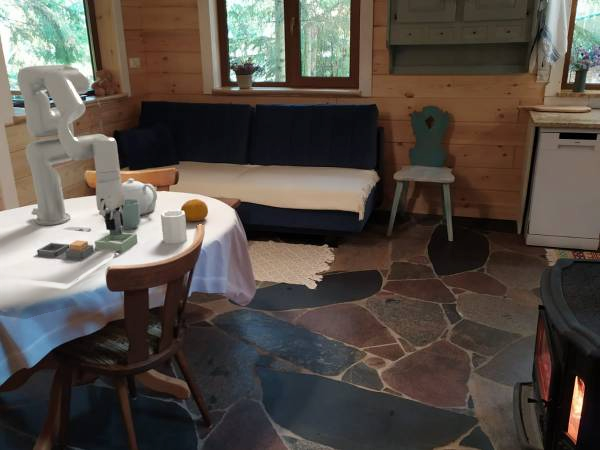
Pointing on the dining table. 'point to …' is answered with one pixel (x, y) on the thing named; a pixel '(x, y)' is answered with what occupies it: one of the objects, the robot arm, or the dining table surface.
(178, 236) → the mug
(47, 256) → the grey two-pocket panel
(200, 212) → the fruit
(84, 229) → the handheld gaming console
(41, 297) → the dining table surface
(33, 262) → the dining table surface
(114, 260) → the dining table surface
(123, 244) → the green square tray
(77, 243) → the orange block
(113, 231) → the cylinder
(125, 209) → the cup
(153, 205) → the teapot
